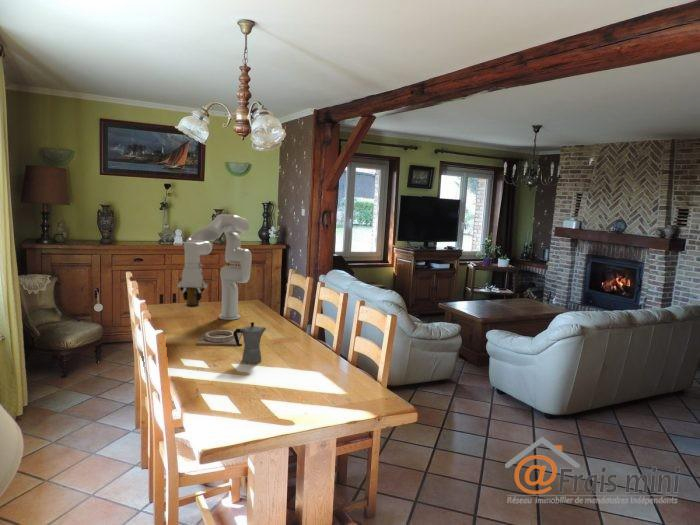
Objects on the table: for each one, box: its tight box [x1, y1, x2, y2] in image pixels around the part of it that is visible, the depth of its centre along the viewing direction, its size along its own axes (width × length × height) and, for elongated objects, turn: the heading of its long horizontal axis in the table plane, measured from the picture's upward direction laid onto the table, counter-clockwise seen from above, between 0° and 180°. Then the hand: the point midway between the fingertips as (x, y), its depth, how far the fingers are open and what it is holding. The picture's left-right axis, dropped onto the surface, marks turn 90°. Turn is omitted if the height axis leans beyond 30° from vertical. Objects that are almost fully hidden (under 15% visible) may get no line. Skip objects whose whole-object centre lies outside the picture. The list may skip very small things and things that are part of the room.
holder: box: [195, 329, 243, 347], centre depth 255 cm, size 20×20×3 cm
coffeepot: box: [233, 321, 267, 365], centre depth 225 cm, size 15×9×18 cm, turn 119°
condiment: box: [183, 288, 203, 308], centre depth 256 cm, size 7×8×12 cm
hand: (192, 299), depth 256 cm, fingers closed on condiment, 6 cm apart
